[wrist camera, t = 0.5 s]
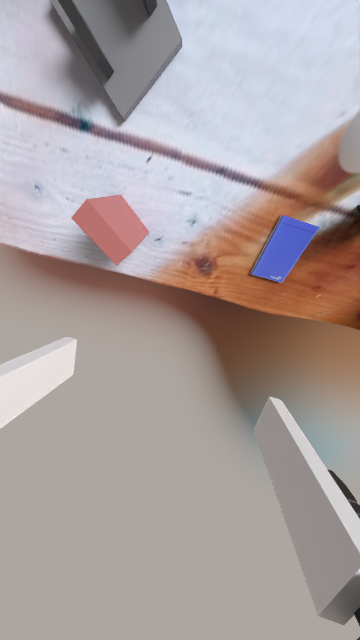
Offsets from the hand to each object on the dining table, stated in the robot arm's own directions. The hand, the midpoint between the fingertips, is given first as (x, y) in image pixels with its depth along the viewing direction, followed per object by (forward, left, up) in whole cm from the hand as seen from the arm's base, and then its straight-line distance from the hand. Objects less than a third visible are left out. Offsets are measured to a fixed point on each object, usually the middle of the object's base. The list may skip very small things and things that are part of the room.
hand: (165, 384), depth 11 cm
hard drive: (+14, +17, -35) cm, 41 cm away
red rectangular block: (-10, -6, -34) cm, 36 cm away
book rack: (-26, +9, -34) cm, 44 cm away
